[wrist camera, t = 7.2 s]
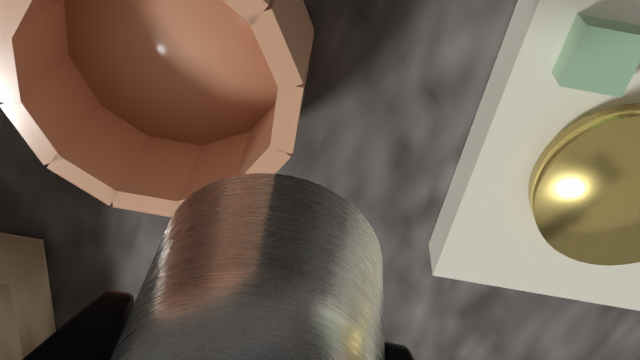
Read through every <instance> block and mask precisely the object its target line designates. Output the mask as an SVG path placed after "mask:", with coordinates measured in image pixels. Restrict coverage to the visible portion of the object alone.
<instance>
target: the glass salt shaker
mask: <svg viewBox="0 0 640 360" xmlns="http://www.w3.org/2000/svg"><path fill="white" fill-rule="evenodd" d="M110 360H385V343H384V304H383V266H382V252H381V248H380V245H379V241H378V239H377V237H376V234H375V232H374V230H373V229H372V227H371V226H370V224H369V223H368V221H367V220H366V218H365V217H364V216H363V215H362V214H361V213H360V212H359V211H358V210H357V209H356V208H355V207H354V206H353V205H352V204H351V203H349V202H348V201H347V200H345V199H344V198H342V197H341V196H340V195H338V194H337V193H335V192H333V191H331V190H329V189H327V188H325V187H323V186H321V185H319V184H316V183H313V182H311V181H308V180H305V179H301V178H297V177H293V176H288V175H281V174H271V173H253V174H242V175H236V176H231V177H227V178H224V179H221V180H217V181H215V182H213V183H210V184H208V185H206V186H204V187H202V188H201V189H199V190H197V191H196V192H194V193H193V194H191V195H190V196H189V197H188V198H187V199H186V200H185V201H183V202H182V204H181V205H180V206H179V207H178V208H177V210H176V211H175V213H174V214H173V216H172V218H171V220H170V222H169V224H168V226H167V229H166V231H165V233H164V236H163V238H162V240H161V243H160V245H159V247H158V250H157V252H156V254H155V257H154V259H153V261H152V264H151V266H150V268H149V271H148V273H147V275H146V278H145V280H144V282H143V285H142V287H141V289H140V291H139V294H138V296H137V298H136V301H135V303H134V305H133V308H132V310H131V312H130V315H129V317H128V319H127V322H126V324H125V326H124V329H123V331H122V333H121V336H120V338H119V340H118V343H117V345H116V347H115V350H114V352H113V354H112V357H111V359H110Z"/></svg>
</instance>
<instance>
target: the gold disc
mask: <svg viewBox="0 0 640 360" xmlns="http://www.w3.org/2000/svg"><path fill="white" fill-rule="evenodd" d="M528 198H529V204H530V207H531V210H532V213H533V216H534V219H535V222H536V224H537V227H538V229H539V231H540V233H541V235H542V236H543V238H544V239H545V240H546V242H547V243H548V244H549V245H550V246H551V247H553V248H554V249H555V250H556V251H558V252H559V253H561V254H563V255H565V256H567V257H569V258H571V259H574V260H577V261H579V262H584V263H588V264H594V265H610V266H613V265H626V264H632V263H637V262H640V103H634V104H625V105H620V106H615V107H610V108H607V109H604V110H601V111H598V112H596V113H593V114H591V115H589V116H586V117H584V118H582V119H581V120H579V121H577V122H575V123H573V124H572V125H571V126H569V127H568V128H566V129H565V130H563V131H562V132H561V133H560V134H559V135H558V136H556V137H555V138H554V139H553V140H552V141H551V142H550V143H549V144H548V146H547V147H546V148H545V149H544V150H543V152H542V153H541V155H540V156H539V158H538V159H537V161H536V163H535V165H534V167H533V170H532V172H531V175H530V179H529V184H528Z"/></svg>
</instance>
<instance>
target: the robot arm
mask: <svg viewBox="0 0 640 360" xmlns="http://www.w3.org/2000/svg"><path fill="white" fill-rule="evenodd" d="M133 305H134V298H133V296H132V295H131V294H129V293H124V292H119V291H114V290H107V291H104V292H103V293H101V294H100V295H99V296H98V297H96V298H95V299H94V300H93V301H92V302H90V303H89V304H88V305H87V306H86V307H84V308H83V309H82V310H81V311H80V312H78V313H77V314H76V315H75V316H74V317H72V318H71V319H70V320H69V321H68V322H66V323H65V324H64V325H63V326H61V327H60V328H59V329H58V330H57V331H55V332H54V333H53V334H52V335H51V336H49V337H48V338H47V339H46V340H45V341H43V342H42V343H41V344H40V345H39V346H37V347H36V348H35V349H34V350H33V351H31V352H30V353H29V354H28V355H27V356H25V357H24V358H23V359H22V360H110V359H111V357H112V354H113V352H114V350H115V347H116V345H117V343H118V340H119V338H120V336H121V333H122V331H123V329H124V326H125V324H126V322H127V319H128V317H129V315H130V312H131V310H132V308H133ZM384 343H385V360H415V359H414V357H413V355H412V353H411V352H410V350H409V349H408V348H407V347H406V346H404V345H399V344H394V343H389V342H384Z"/></svg>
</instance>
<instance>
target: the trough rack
mask: <svg viewBox="0 0 640 360" xmlns="http://www.w3.org/2000/svg"><path fill="white" fill-rule="evenodd" d="M55 331H56V326H55V319H54V312H53V305H52V298H51V291H50V284H49V277H48V270H47V263H46V255H45V248H44V241H43V240H42V239H36V238H31V237H25V236H19V235H13V234H7V233H1V232H0V360H22V359H23V358H24V357H25V356H27V355H28V354H29V353H30V352H31V351H33V350H34V349H35V348H36V347H37V346H39V345H40V344H41V343H42V342H43V341H45V340H46V339H47V338H48V337H49V336H51V335H52V334H53V333H54V332H55Z"/></svg>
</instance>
